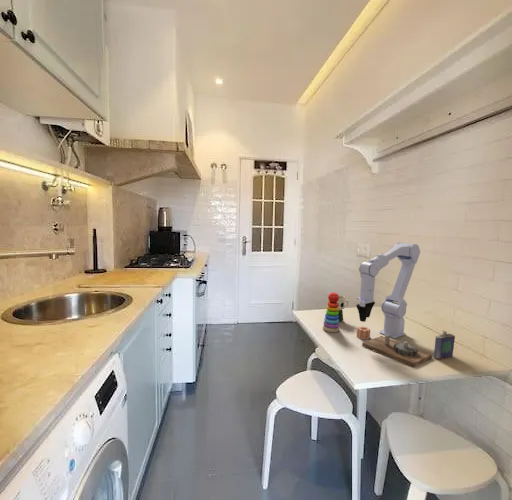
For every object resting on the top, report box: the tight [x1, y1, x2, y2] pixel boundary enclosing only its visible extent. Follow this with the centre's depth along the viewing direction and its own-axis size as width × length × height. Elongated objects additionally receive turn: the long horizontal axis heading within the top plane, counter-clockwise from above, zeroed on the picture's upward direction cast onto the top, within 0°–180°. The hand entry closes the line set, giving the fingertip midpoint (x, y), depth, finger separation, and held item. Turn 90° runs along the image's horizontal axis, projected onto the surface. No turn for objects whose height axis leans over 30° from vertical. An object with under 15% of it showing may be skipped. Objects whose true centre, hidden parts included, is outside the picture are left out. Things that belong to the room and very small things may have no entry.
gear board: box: [361, 335, 433, 368], centre depth 124 cm, size 14×22×6 cm, turn 35°
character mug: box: [327, 294, 349, 322], centre depth 161 cm, size 11×7×13 cm, turn 88°
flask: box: [433, 330, 456, 360], centre depth 120 cm, size 9×3×11 cm, turn 110°
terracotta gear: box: [356, 325, 371, 340], centre depth 139 cm, size 6×6×4 cm
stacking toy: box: [322, 292, 340, 333], centre depth 147 cm, size 8×8×19 cm
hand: (364, 319), depth 135 cm, fingers open, 7 cm apart
